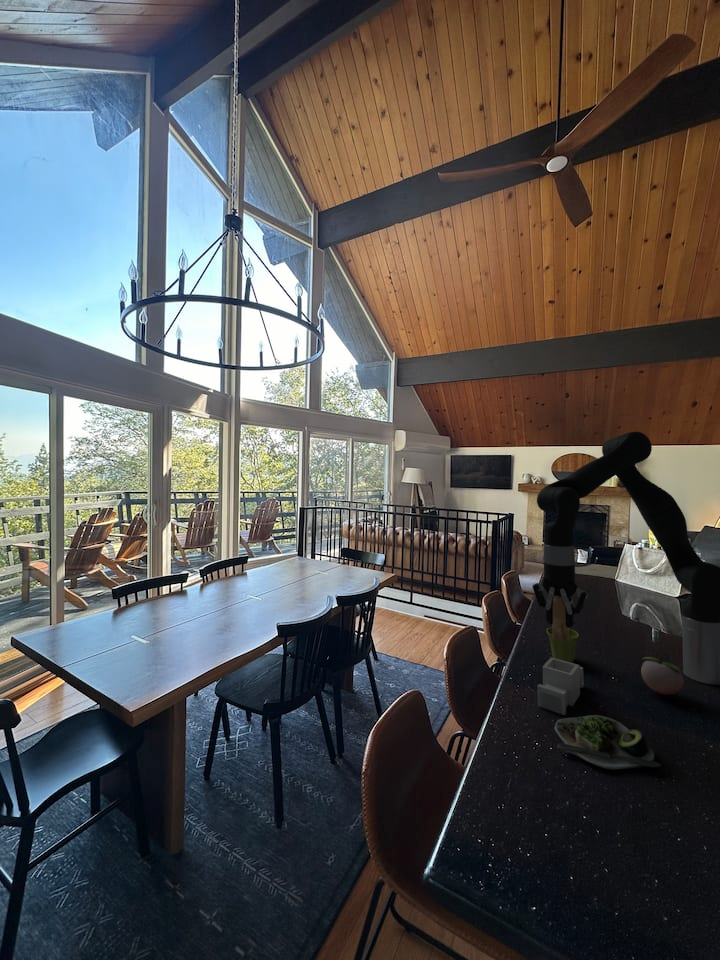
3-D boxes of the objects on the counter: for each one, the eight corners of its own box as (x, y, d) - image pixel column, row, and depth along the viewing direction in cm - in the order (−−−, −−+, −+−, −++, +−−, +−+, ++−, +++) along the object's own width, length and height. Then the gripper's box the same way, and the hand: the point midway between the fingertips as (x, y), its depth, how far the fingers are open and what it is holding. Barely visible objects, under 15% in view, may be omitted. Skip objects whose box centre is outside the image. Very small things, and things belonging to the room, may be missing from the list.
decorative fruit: (636, 693, 108) (635, 656, 108) (645, 683, 113) (644, 647, 113) (679, 708, 100) (679, 669, 100) (687, 696, 106) (687, 658, 106)
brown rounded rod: (570, 638, 108) (569, 593, 107) (566, 643, 105) (565, 597, 104) (554, 634, 110) (554, 591, 110) (550, 639, 107) (549, 594, 107)
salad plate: (582, 783, 77) (582, 759, 77) (533, 726, 95) (533, 707, 95) (674, 774, 79) (674, 751, 79) (610, 720, 97) (609, 701, 97)
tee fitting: (585, 686, 112) (584, 658, 112) (566, 716, 98) (565, 683, 98) (557, 678, 117) (556, 650, 117) (536, 705, 103) (535, 674, 103)
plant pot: (546, 662, 127) (545, 635, 127) (547, 650, 135) (547, 625, 135) (579, 668, 122) (579, 640, 122) (579, 655, 131) (578, 629, 130)
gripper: (592, 562, 105) (593, 627, 105) (536, 556, 115) (537, 615, 115) (585, 567, 100) (586, 636, 100) (526, 560, 109) (528, 623, 109)
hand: (560, 624), depth 107 cm, fingers closed on brown rounded rod, 4 cm apart
